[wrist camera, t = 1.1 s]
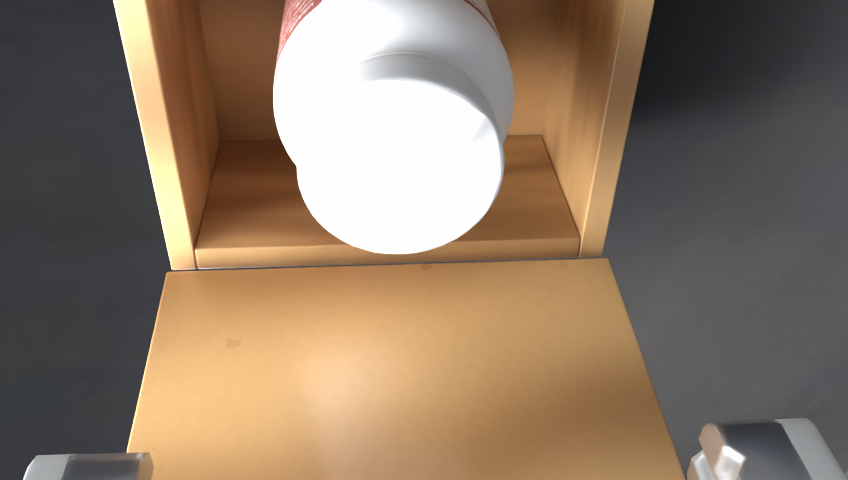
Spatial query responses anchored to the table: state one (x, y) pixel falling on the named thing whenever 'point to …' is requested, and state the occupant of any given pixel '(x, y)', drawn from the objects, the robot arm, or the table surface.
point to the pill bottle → (394, 116)
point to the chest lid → (400, 376)
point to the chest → (277, 173)
